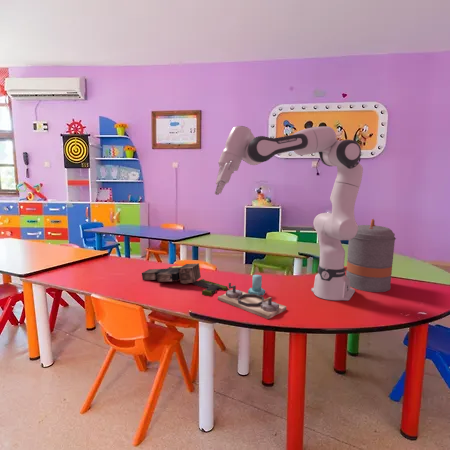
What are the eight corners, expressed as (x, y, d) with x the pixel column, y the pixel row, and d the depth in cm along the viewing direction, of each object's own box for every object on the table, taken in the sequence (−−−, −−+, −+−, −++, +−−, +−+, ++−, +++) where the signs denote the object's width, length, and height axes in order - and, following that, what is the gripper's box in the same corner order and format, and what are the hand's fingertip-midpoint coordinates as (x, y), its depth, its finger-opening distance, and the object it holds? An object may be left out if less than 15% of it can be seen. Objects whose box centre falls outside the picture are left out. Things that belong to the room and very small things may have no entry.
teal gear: (255, 288, 162) (255, 272, 160) (268, 293, 156) (269, 276, 155) (244, 292, 156) (245, 275, 155) (258, 297, 150) (258, 279, 149)
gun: (181, 289, 162) (202, 282, 173) (209, 297, 150) (229, 290, 162) (181, 284, 162) (202, 277, 173) (209, 292, 150) (230, 285, 161)
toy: (139, 288, 170) (191, 287, 160) (137, 271, 169) (189, 269, 159) (155, 279, 185) (203, 277, 175) (152, 263, 184) (201, 261, 174)
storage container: (349, 275, 186) (353, 215, 181) (392, 282, 175) (398, 218, 169) (340, 286, 167) (345, 219, 162) (389, 295, 156) (396, 223, 150)
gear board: (236, 292, 156) (237, 276, 155) (286, 309, 137) (287, 291, 136) (217, 299, 147) (218, 282, 146) (268, 319, 128) (268, 299, 126)
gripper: (240, 161, 126) (227, 195, 126) (232, 169, 146) (221, 197, 146) (225, 155, 125) (212, 189, 125) (219, 163, 145) (208, 192, 145)
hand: (217, 193), depth 136 cm, fingers open, 8 cm apart
